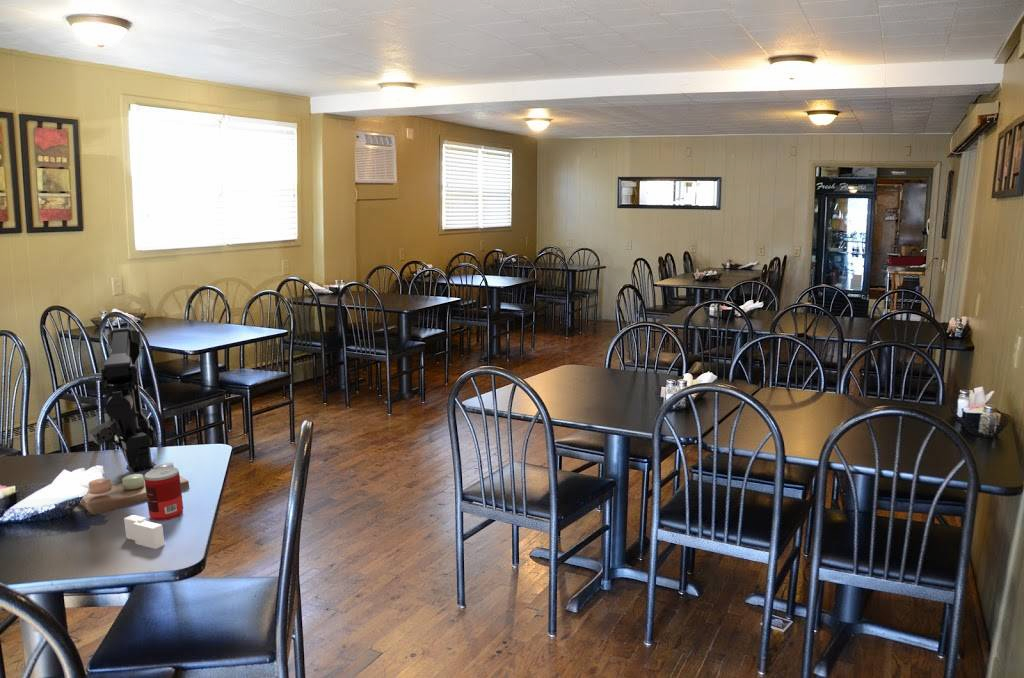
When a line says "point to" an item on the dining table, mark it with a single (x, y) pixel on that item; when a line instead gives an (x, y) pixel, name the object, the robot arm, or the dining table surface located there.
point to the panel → (118, 497)
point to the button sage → (133, 481)
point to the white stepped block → (144, 531)
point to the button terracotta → (100, 486)
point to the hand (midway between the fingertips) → (131, 467)
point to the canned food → (163, 493)
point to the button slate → (163, 465)
